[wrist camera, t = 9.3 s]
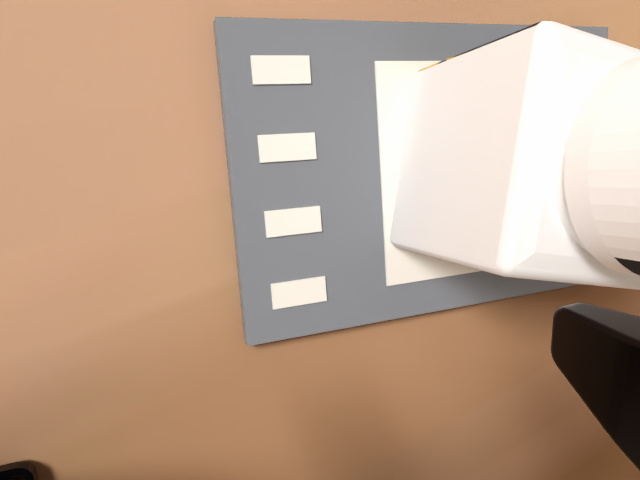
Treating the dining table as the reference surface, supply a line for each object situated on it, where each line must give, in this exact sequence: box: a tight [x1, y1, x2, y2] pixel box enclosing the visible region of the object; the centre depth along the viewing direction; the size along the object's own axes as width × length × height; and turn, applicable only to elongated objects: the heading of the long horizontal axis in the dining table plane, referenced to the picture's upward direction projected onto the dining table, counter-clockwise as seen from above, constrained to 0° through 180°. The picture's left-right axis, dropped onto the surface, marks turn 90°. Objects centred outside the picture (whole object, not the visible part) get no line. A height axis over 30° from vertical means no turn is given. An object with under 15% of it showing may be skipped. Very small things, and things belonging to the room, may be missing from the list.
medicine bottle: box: [390, 21, 640, 290], centre depth 16 cm, size 7×7×12 cm
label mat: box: [213, 17, 608, 346], centre depth 21 cm, size 12×18×1 cm, turn 94°
